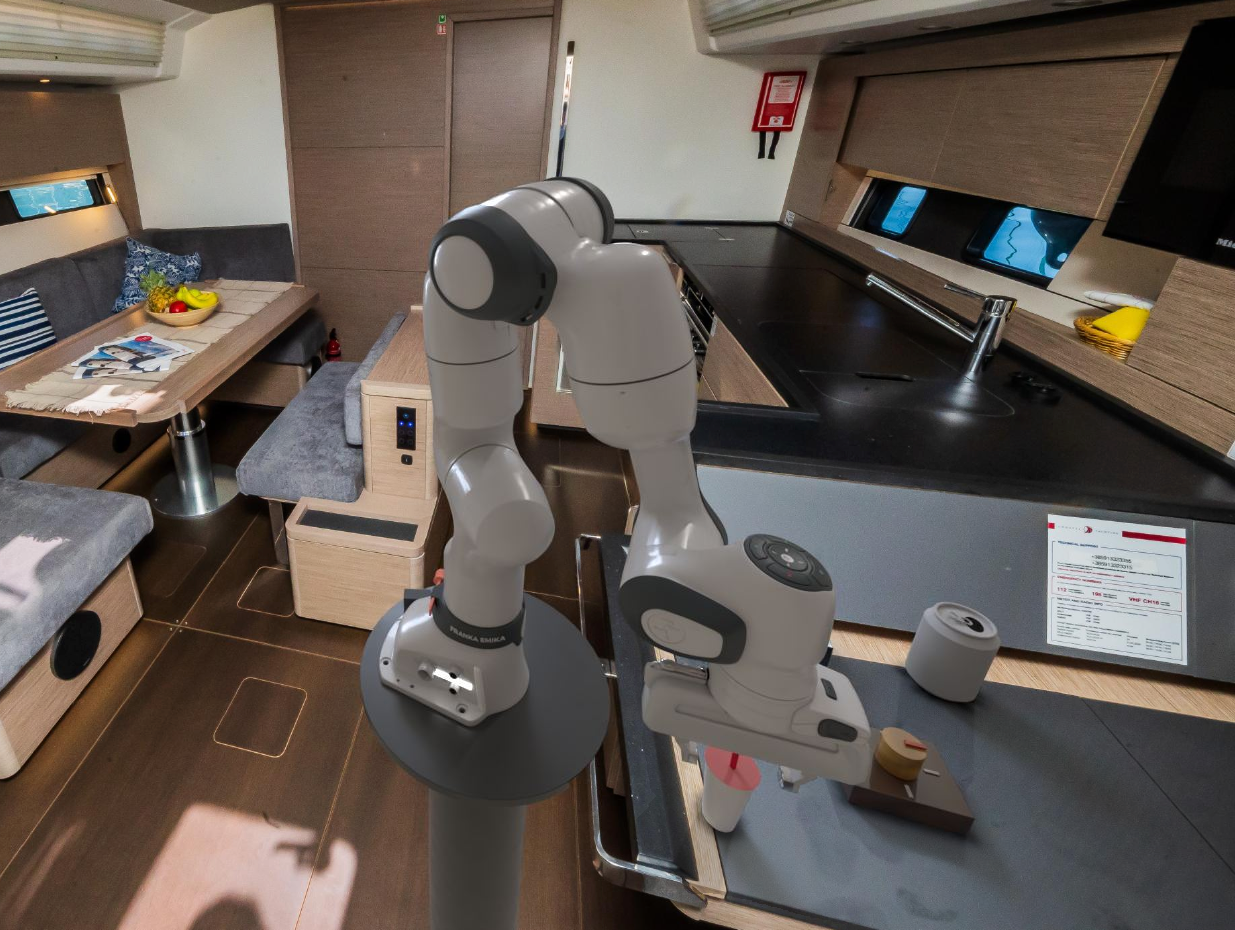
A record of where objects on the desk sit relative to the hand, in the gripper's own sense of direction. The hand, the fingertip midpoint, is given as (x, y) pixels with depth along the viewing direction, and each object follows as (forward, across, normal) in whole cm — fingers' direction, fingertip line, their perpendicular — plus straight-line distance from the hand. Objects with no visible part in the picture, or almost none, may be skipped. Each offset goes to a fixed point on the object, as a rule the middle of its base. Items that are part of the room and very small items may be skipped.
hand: (736, 771), depth 63 cm
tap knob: (+6, +19, +11) cm, 23 cm away
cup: (+9, -1, 0) cm, 9 cm away
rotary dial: (+9, +19, +11) cm, 24 cm away
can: (+10, +31, +30) cm, 44 cm away
